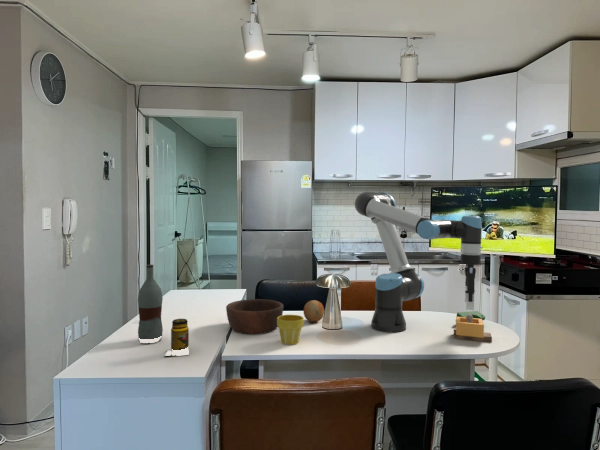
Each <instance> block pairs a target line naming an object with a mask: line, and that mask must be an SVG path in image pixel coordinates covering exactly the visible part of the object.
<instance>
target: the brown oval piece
mask: <svg viewBox="0 0 600 450" xmlns="http://www.w3.org/2000/svg"><path fill="white" fill-rule="evenodd" d="M303 315H304V316H303V317H304V318H305V320H307V321H308V322H311V323H315V322H319V321H321V320H322V319H323V318H324V315H325V308H324V305H323V303H322V302H320V301H318V300H316V299H315V300H314V299H313V300H308V301H307V302H306V304H304V307H303Z"/></svg>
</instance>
